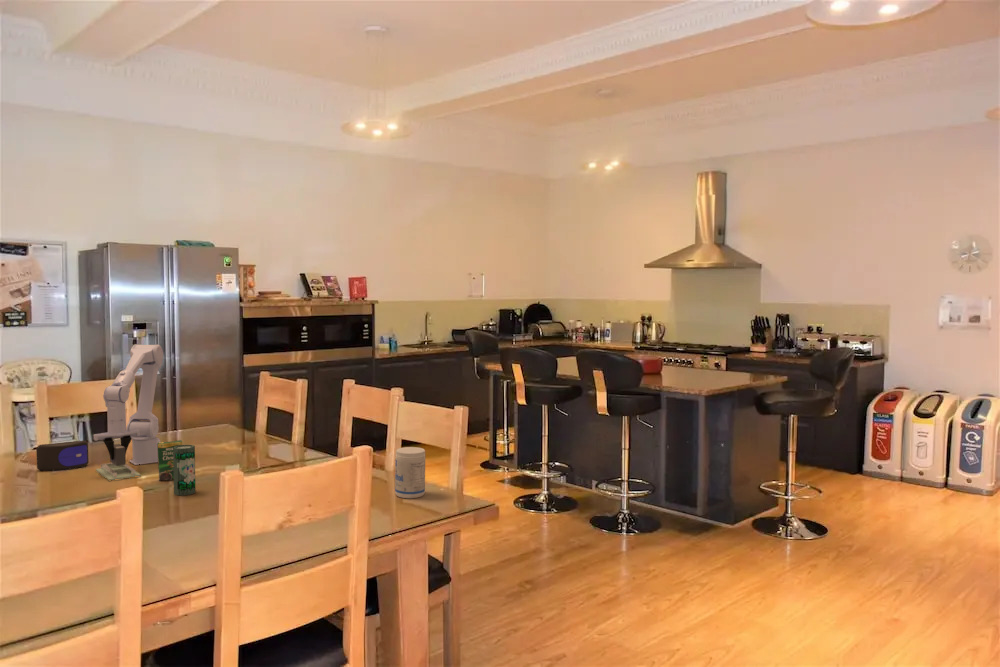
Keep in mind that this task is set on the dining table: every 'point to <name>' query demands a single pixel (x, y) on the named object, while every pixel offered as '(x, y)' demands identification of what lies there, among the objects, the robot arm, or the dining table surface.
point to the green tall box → (184, 469)
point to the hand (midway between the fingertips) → (117, 458)
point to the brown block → (119, 455)
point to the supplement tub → (410, 472)
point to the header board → (117, 471)
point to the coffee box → (166, 459)
